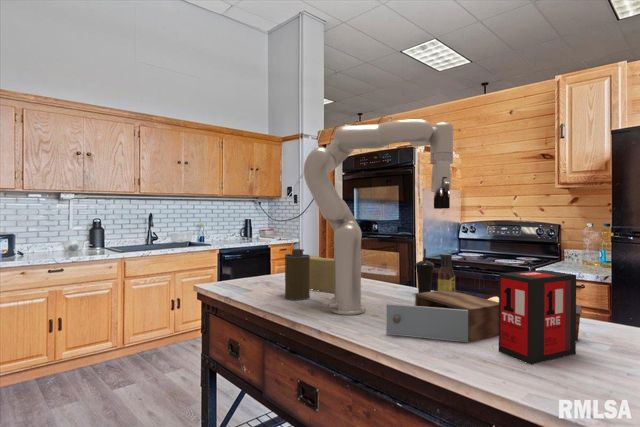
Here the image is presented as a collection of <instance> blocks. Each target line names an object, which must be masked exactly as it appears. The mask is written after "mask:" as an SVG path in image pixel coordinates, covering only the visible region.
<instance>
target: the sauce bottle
mask: <svg viewBox="0 0 640 427" xmlns="http://www.w3.org/2000/svg"><path fill="white" fill-rule="evenodd" d="M452 258H453V254H452V253H440V265H441V266H440V268H438V271H437V291H440V290H450V291H454V292H456V274H455V272H454V269H453V266H452V264H453V263H452Z"/></svg>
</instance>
